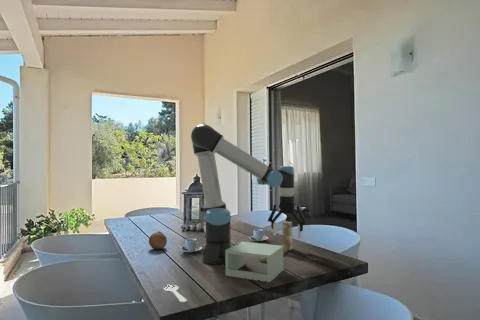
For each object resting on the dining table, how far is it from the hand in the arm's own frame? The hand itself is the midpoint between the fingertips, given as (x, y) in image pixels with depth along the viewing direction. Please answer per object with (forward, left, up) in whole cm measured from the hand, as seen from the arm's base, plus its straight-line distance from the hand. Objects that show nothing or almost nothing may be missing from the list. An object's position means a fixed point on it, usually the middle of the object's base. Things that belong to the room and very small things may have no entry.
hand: (286, 236), depth 177 cm
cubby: (-1, -41, -7) cm, 41 cm away
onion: (-63, -27, -7) cm, 69 cm away
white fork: (-18, -72, -7) cm, 75 cm away
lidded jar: (-54, +14, -7) cm, 56 cm away
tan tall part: (-1, -11, -7) cm, 13 cm away
